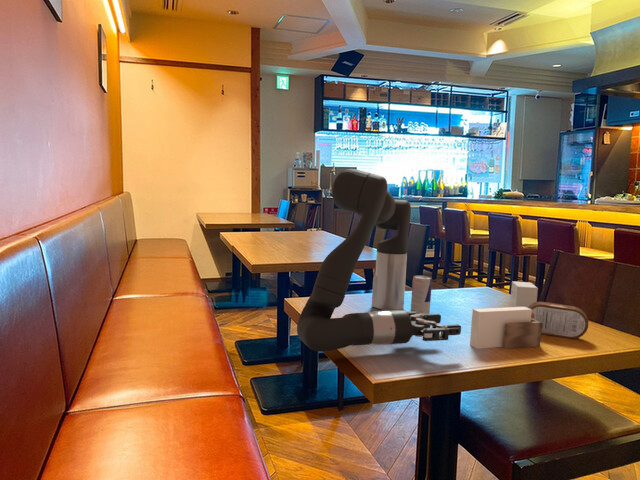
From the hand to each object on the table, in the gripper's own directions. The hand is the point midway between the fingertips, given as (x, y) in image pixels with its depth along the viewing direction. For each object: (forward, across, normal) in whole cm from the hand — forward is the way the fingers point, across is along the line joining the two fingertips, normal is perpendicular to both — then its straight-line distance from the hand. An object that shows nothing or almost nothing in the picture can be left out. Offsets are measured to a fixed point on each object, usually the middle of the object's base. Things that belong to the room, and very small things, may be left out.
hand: (449, 323), depth 110 cm
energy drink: (+6, +24, +6) cm, 25 cm away
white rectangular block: (+14, 0, +6) cm, 16 cm away
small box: (+36, +18, +6) cm, 41 cm away
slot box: (+18, 0, +6) cm, 19 cm away
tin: (+34, +4, +6) cm, 35 cm away
